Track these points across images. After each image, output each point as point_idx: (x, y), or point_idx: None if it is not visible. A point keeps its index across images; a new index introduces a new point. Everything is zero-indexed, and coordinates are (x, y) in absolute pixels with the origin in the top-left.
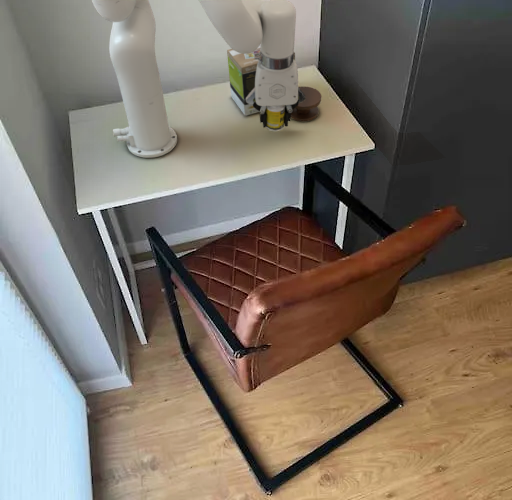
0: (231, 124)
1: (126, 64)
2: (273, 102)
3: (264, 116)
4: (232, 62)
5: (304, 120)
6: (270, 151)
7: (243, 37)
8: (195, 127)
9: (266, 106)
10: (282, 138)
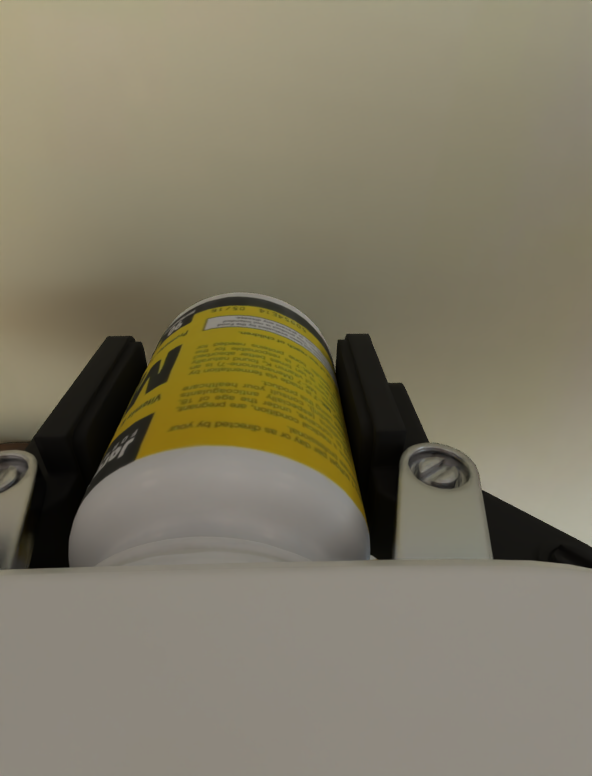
0: (531, 445)
1: None
2: (268, 679)
3: (389, 412)
4: None
5: (20, 448)
6: (310, 65)
7: None
8: None
9: (368, 556)
10: (185, 266)
